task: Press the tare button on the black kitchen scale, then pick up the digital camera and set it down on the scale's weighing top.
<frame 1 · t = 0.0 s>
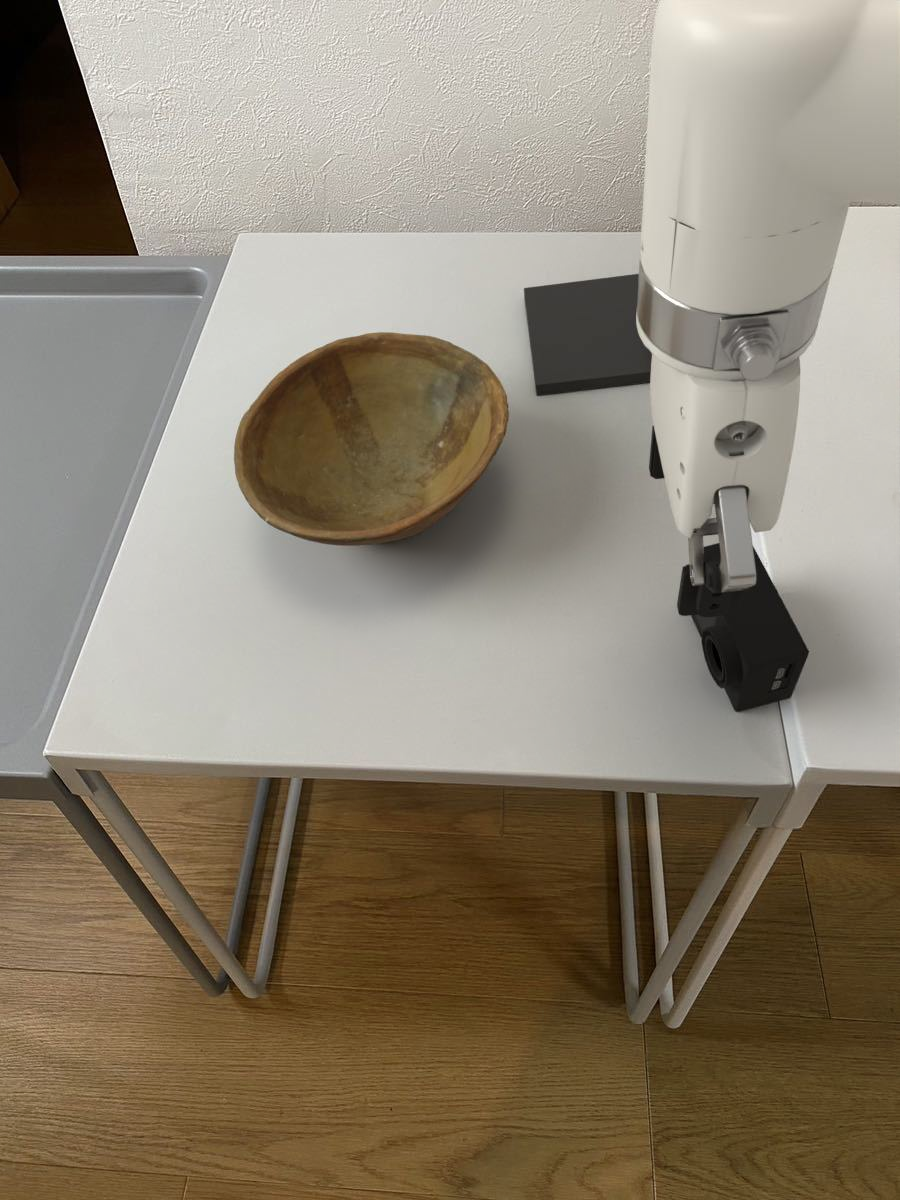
hand: (690, 537, 53), 20 cm above the table, tool pointing down, fingers open, 9 cm apart
tare button: (684, 327, 85), point 4 cm above the table, slide at 0.1 cm
digital camera: (727, 650, 71), on the table
scale: (611, 335, 91), on the table
bowl: (390, 503, 83), on the table
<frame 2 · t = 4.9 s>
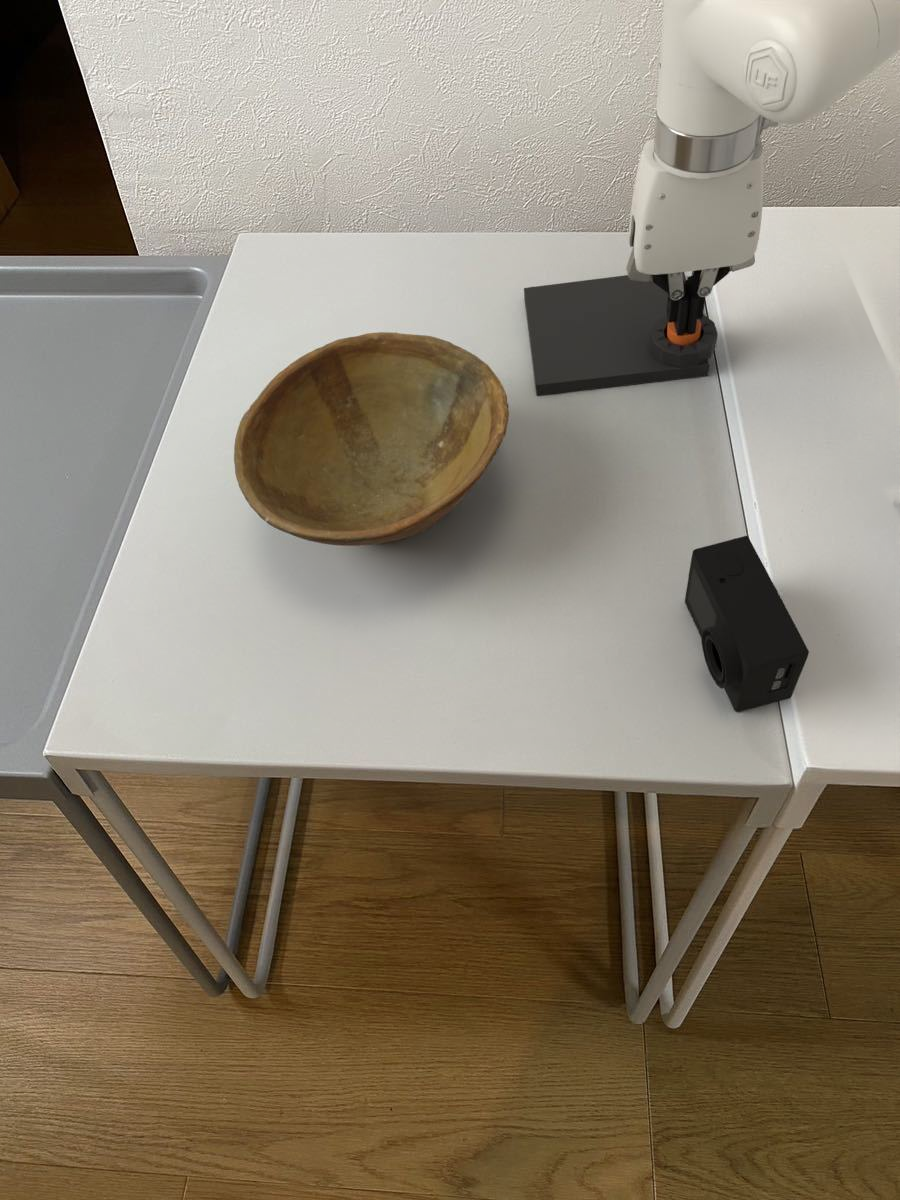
hand: (683, 324, 85), 4 cm above the table, tool pointing down, fingers closed
tare button: (683, 332, 86), point 3 cm above the table, slide at -0.5 cm, touching gripper
everything else where it was.
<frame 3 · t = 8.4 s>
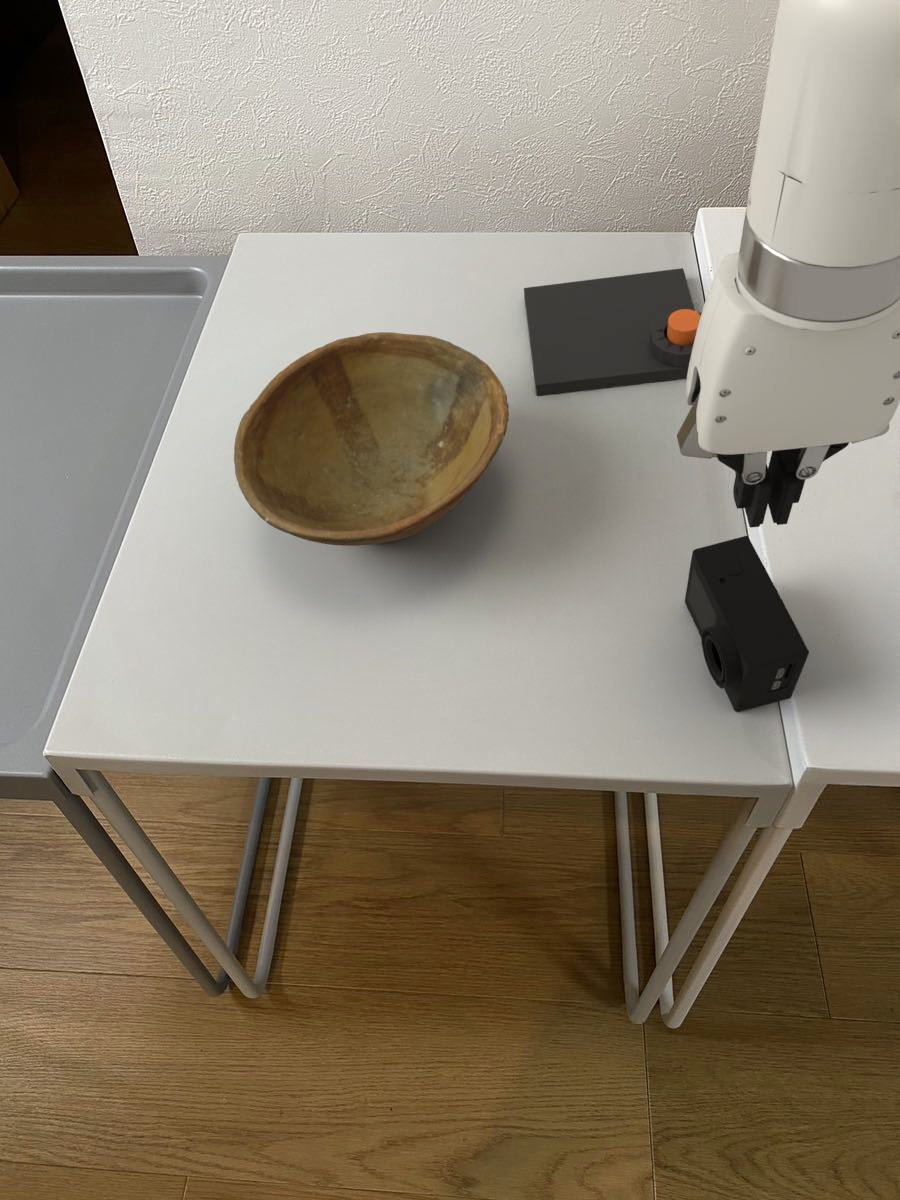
hand: (762, 506, 57), 17 cm above the table, tool pointing down, fingers closed
tare button: (684, 327, 85), point 4 cm above the table, slide at 0.1 cm
everything else where it was.
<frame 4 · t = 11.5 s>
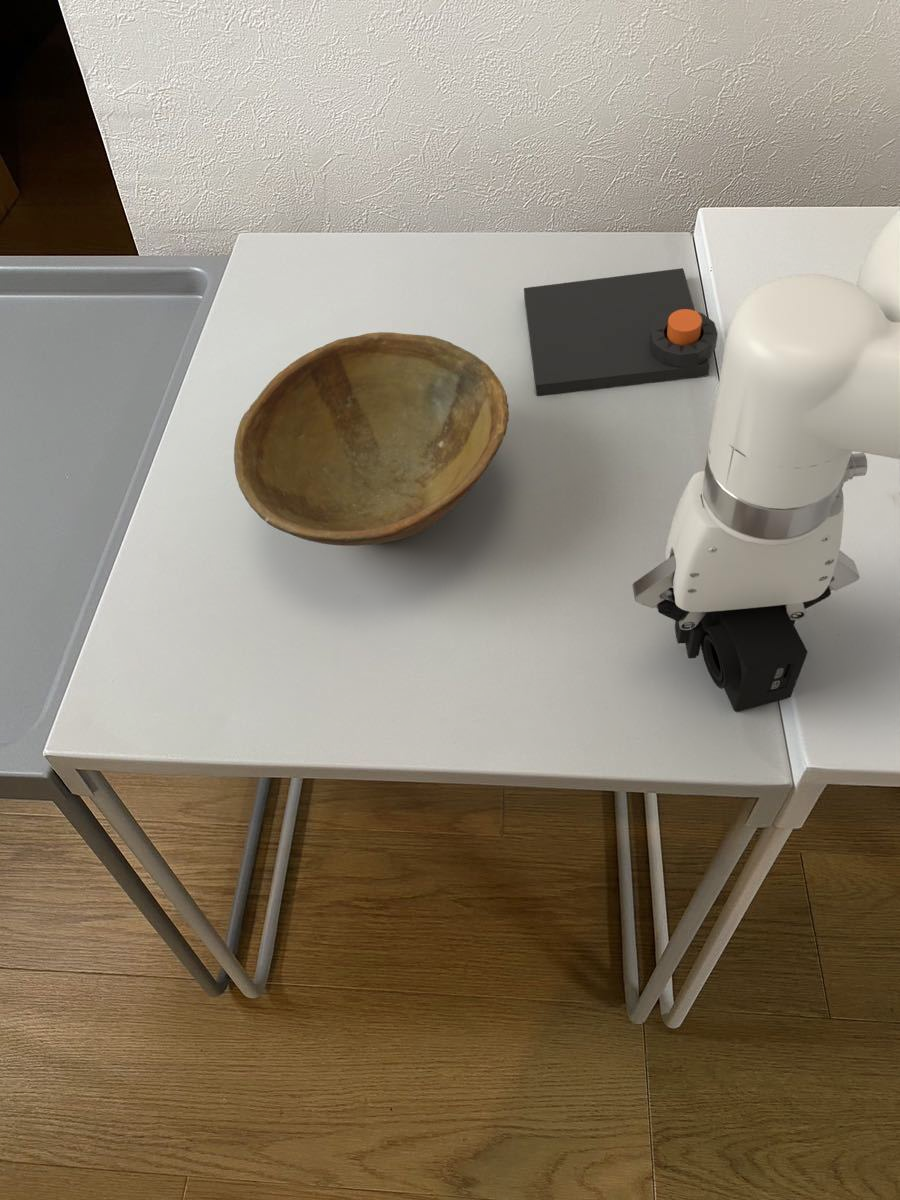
hand: (730, 636, 69), 2 cm above the table, tool pointing down, fingers closed on digital camera, 5 cm apart
digital camera: (726, 650, 71), on the table, touching gripper
everything else where it was.
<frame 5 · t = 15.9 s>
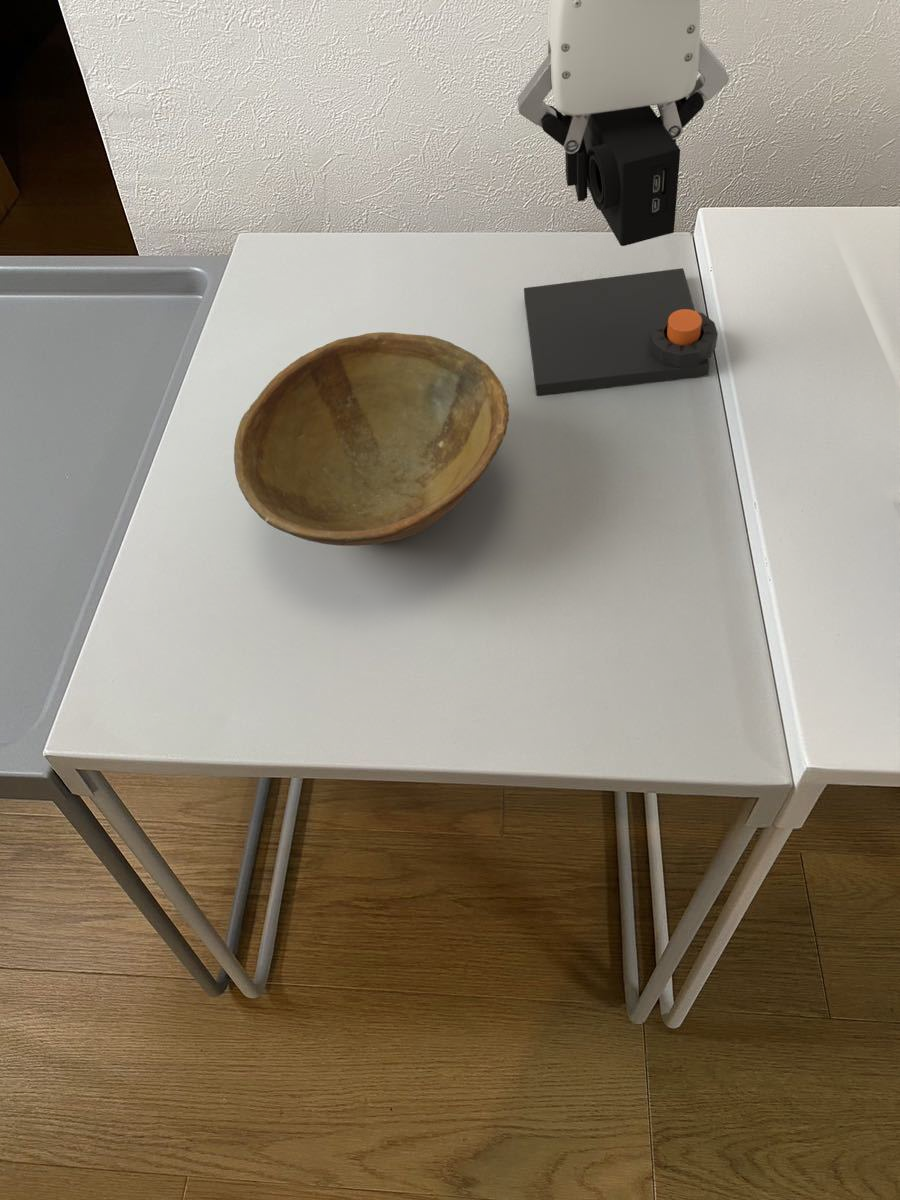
hand: (618, 183, 73), 19 cm above the table, tool pointing down, fingers closed on digital camera, 5 cm apart
digital camera: (617, 207, 74), point 17 cm above the table, touching gripper
everything else where it was.
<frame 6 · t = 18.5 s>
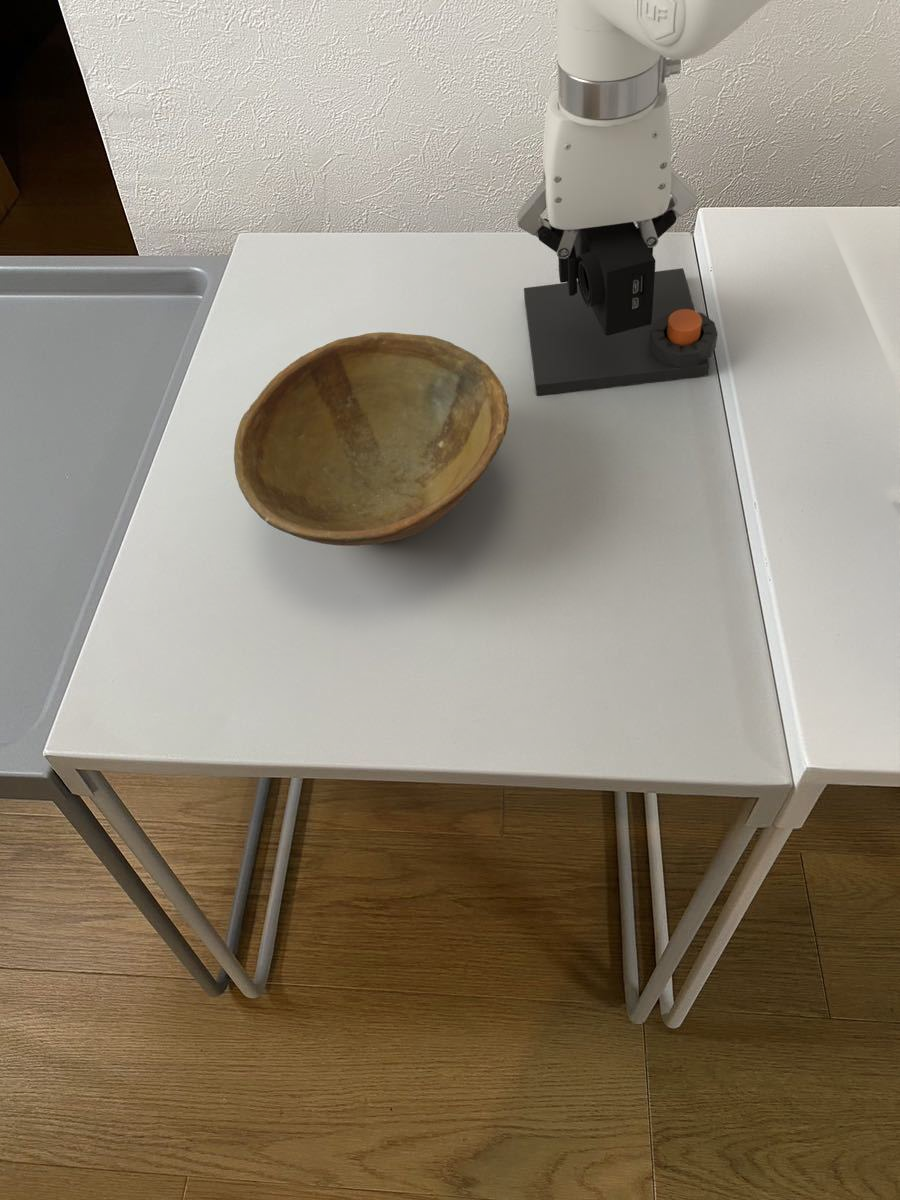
hand: (604, 279, 84), 8 cm above the table, tool pointing down, fingers closed on digital camera, 5 cm apart
digital camera: (603, 298, 86), point 5 cm above the table, touching gripper
everything else where it was.
when the fingers open (3 cm above the table, at t = 20.3 s): digital camera stays where it is, resting on scale.
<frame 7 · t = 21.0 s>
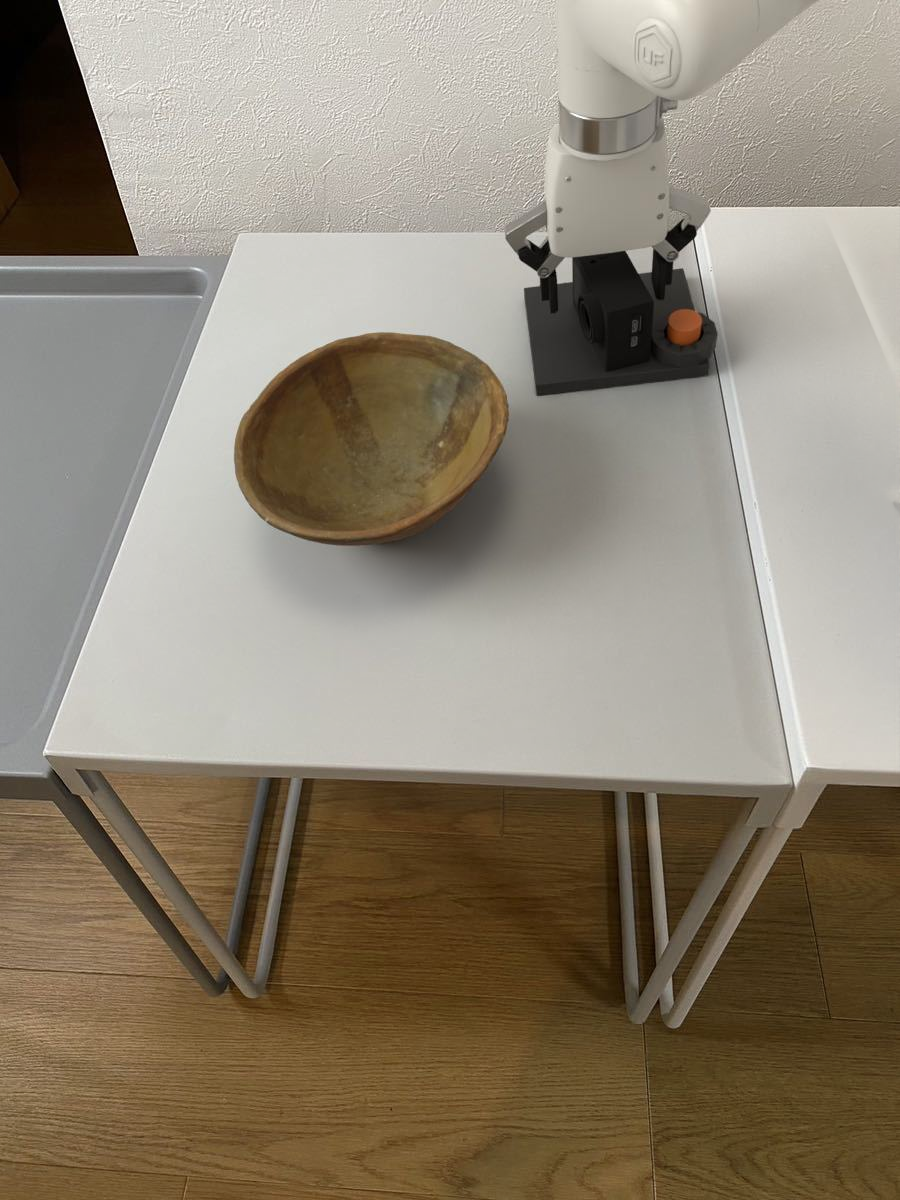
hand: (605, 297, 86), 6 cm above the table, tool pointing down, fingers open, 9 cm apart
digital camera: (603, 334, 89), point 1 cm above the table, touching scale
everything else where it was.
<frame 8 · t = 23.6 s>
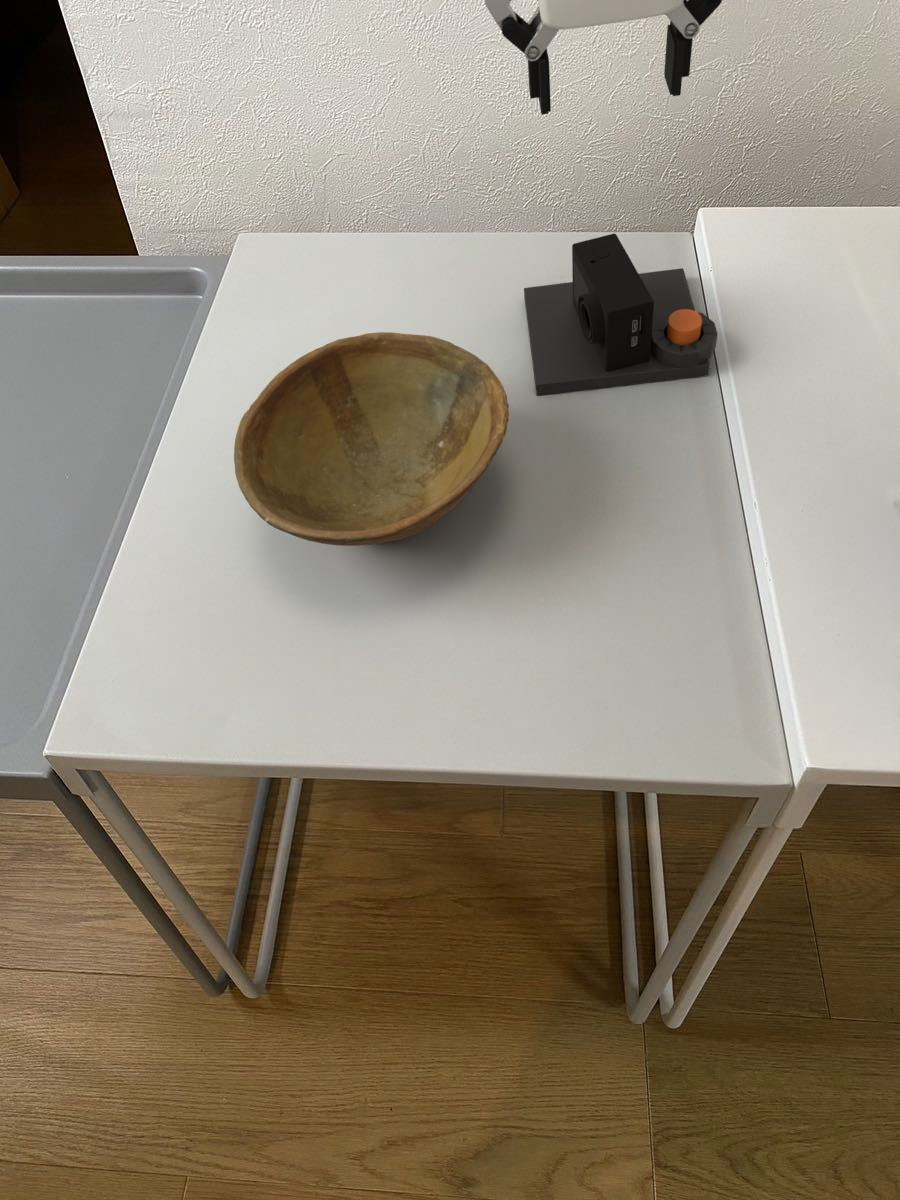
hand: (607, 95, 70), 24 cm above the table, tool pointing down, fingers open, 9 cm apart
nothing on the table moved.
at the end: tare button pushed in 0.9 cm at the most during the clip, back to where it started at the end; digital camera inside the target area on the scale (0.4 cm from its centre), point 1.2 cm above the scale's base; digital camera touching scale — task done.
